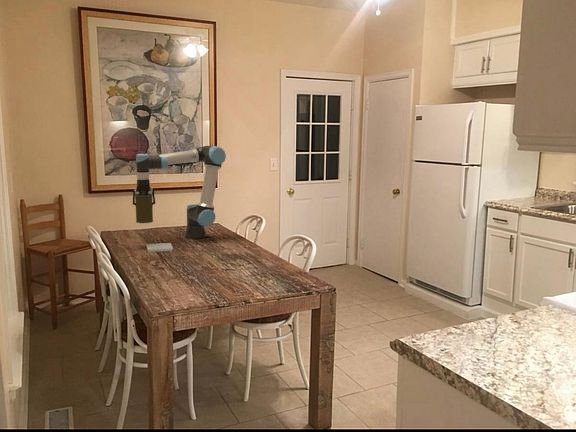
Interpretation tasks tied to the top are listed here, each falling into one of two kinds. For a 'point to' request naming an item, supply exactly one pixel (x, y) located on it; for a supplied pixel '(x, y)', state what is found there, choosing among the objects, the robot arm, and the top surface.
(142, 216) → the canister
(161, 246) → the trivet
